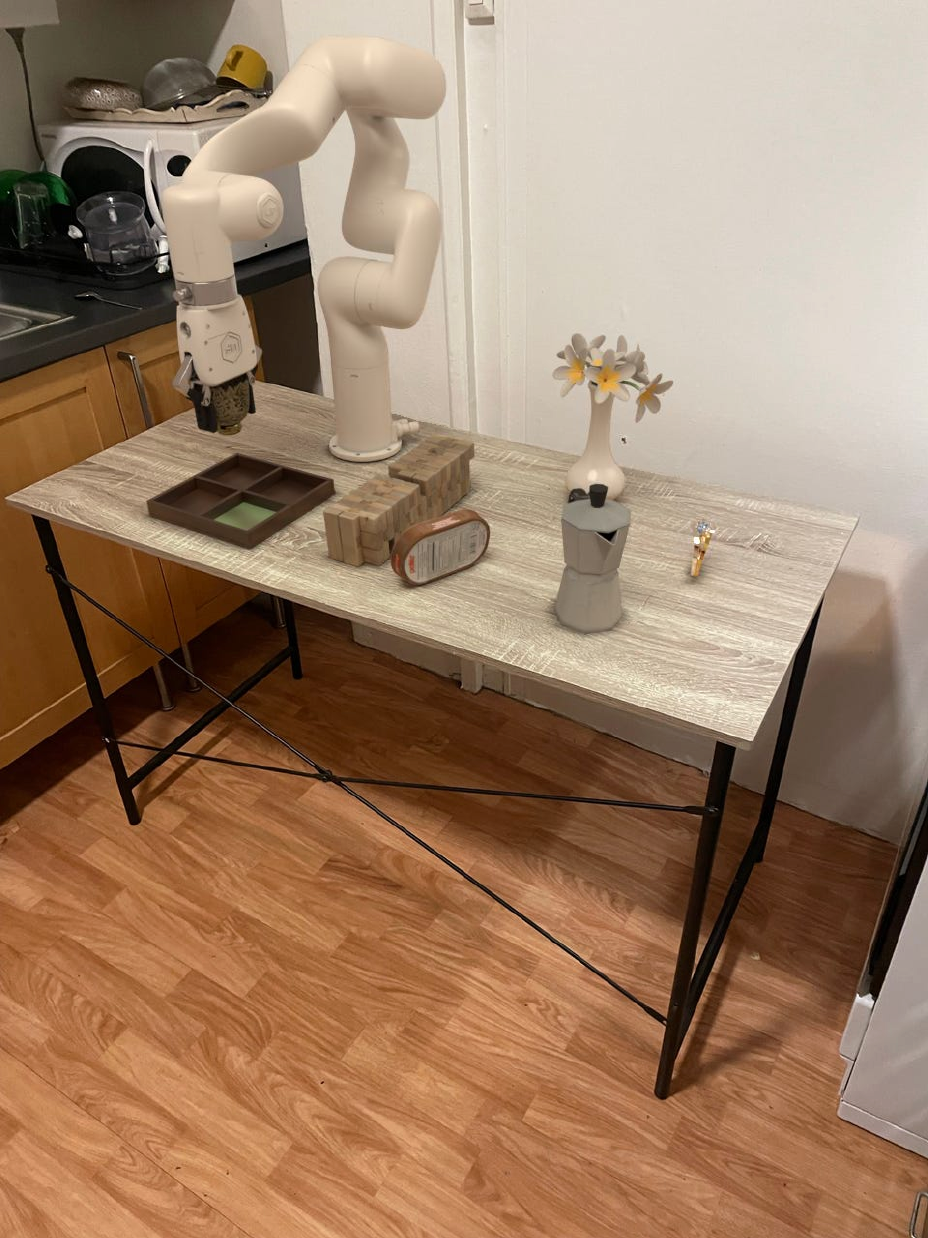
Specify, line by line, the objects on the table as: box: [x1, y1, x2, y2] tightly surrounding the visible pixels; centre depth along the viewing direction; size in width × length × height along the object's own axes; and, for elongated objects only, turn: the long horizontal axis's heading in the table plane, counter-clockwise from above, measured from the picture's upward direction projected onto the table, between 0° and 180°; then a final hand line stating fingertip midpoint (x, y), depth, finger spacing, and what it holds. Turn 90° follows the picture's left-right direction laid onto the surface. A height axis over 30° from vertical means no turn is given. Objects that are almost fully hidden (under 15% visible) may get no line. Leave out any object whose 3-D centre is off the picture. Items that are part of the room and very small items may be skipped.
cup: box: [198, 373, 249, 436], centre depth 127 cm, size 8×7×8 cm
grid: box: [145, 452, 336, 550], centre depth 142 cm, size 20×20×3 cm
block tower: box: [322, 433, 475, 567], centre depth 136 cm, size 8×8×29 cm
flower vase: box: [551, 332, 674, 501], centre depth 136 cm, size 13×18×25 cm
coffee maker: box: [553, 484, 632, 634], centre depth 114 cm, size 15×9×18 cm, turn 12°
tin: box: [390, 508, 491, 586], centre depth 124 cm, size 15×3×8 cm, turn 126°
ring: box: [690, 518, 716, 578], centre depth 123 cm, size 7×3×8 cm, turn 159°
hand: (227, 419), depth 128 cm, fingers closed on cup, 7 cm apart
